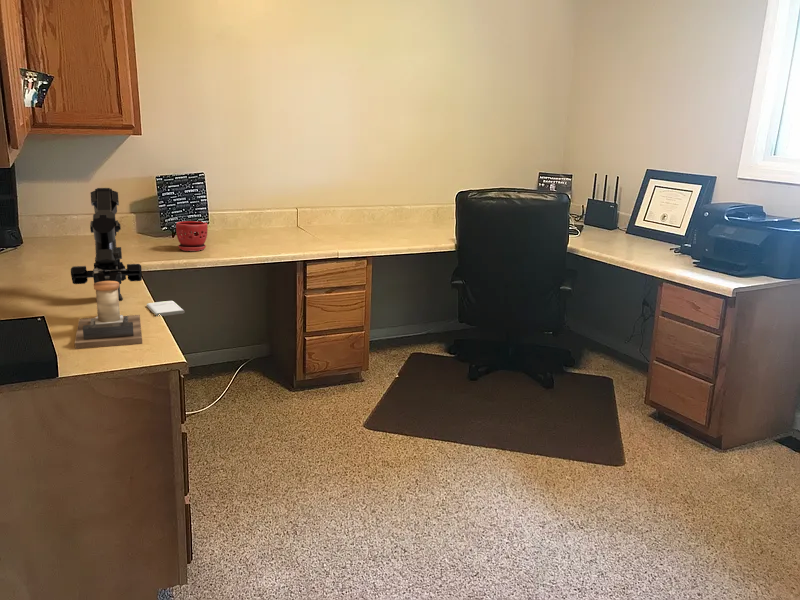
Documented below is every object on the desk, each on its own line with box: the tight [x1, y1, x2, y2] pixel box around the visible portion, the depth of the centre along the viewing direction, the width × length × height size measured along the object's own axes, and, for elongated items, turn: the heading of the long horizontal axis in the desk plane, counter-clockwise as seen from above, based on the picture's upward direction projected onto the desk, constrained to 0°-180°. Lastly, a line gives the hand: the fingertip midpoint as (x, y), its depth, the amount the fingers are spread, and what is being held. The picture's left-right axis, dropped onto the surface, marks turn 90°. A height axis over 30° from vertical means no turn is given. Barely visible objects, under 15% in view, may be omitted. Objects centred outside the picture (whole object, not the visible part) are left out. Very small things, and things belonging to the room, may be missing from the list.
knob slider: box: [93, 281, 124, 325], centre depth 189 cm, size 7×7×11 cm
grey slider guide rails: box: [83, 315, 134, 340], centre depth 186 cm, size 17×12×3 cm
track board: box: [74, 314, 143, 350], centre depth 187 cm, size 22×16×2 cm
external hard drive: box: [146, 300, 185, 317], centre depth 211 cm, size 2×8×12 cm
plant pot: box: [175, 220, 209, 252], centre depth 299 cm, size 13×13×12 cm
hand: (108, 298), depth 195 cm, fingers closed
